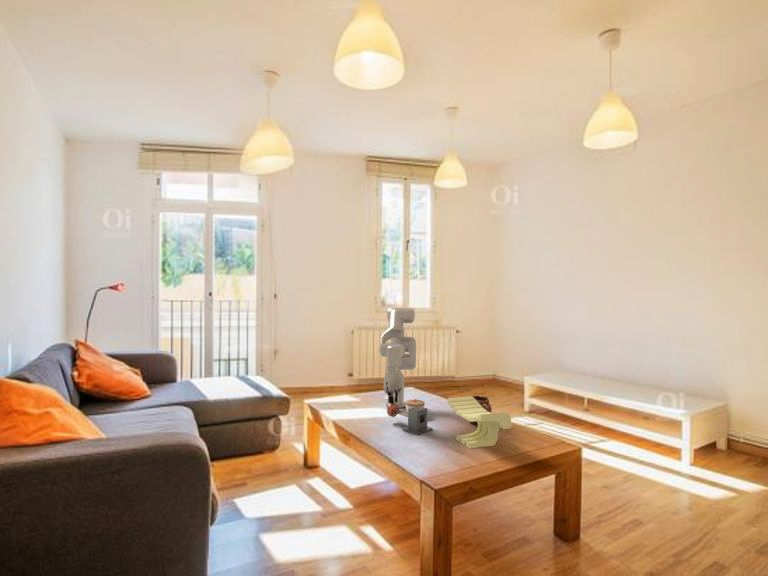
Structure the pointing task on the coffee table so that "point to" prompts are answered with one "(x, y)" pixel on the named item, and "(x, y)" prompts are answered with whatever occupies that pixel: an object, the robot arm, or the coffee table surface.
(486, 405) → the decorative planter
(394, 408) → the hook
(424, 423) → the grey square peg socket
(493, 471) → the coffee table surface
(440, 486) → the coffee table surface
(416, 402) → the lidded jar
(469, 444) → the slatted curved stool
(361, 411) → the coffee table surface
